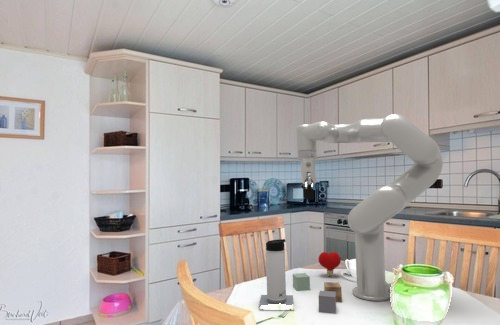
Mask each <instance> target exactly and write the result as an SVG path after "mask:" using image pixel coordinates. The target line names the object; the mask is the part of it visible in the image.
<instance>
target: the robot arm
mask: <svg viewBox="0 0 500 325" xmlns="http://www.w3.org/2000/svg"><path fill="white" fill-rule="evenodd" d="M317 141H319V142H323V143H327V144H349V143H350V144H353V143H354V144H355V143H357V144H360V143H392V145H394V146H395V147H396V148H397V149H398V150H400V152H402V153H403V154H404V156H405V155H406V156H407V157H408V158H409V159H410V160H411V161H413V164H412V166H411V167H410V168H408V169H407V170H406V171H405V172H403V173H402V174H401V175H400V176H399V177H398V178H396V179H395V180H393V181H392V182H391V183H389V184H386V185H382V186H380V187H378V188H377V189H376V190H374V191H373V192H372V193H370V194H369V195H368V196H367V197H365V198H364V199H363V200H362V201H361V202H359V203H358V204H357V205H356V206H354V207H353V208H352V209H351V210H350V211H349V213H348V215H347V223H348V226H349V228H350V229H351V231H353V232H354V233H355V236H354V237H355V238H354V239H355V240H354V242H355V243H354V245H355V267H356V268H355V270H356V273H355V274H356V286H355V287H353V288H352V294H353V296H354V297H356V298H359V299H362V300H367V301H372V302H373V301H374V302H376V301H377V302H378V301H379V302H380V301H387V300H389V299H391V297H390V293H391V292H390V287H391V284H392V282H391V283H388V282H387V281H386V267H385V266H386V265H385V262H386V261H385V240H384V238H385V237H384V236H385V223H387V222H388V221H389V220H391V219H392V218H394V217H395V216H396V215H397V214H398V213H401V211H403V210H404V209H405V208H406V207H407V206H408V205H409V204H410V203H411V202H413V201H414V200H415V199H417V198H418V197H419V196H420V195H422V194H423V193H424V192H426V191H427V190H428V189H429V188H431V187H432V185H434V184H435V183H436V182H437V180H438V179H439V177H440V176H441V173H442V170H443V156H442V153H441V149H440V147H439V145H438V143H437V142H436V141H435V140H434V139H433V138H431V136H429V135H428V134H426V133H425V132H424V131H423V130H421V129H420V128H419V127H417V126H416V125H415V124H414V123H413V122H411V121H410V120H409V119H408V118H407V117H406V116H404V115H402V114H399V113H391V114H388V115H387V116H385V117H379V118H375V117H374V118H362V119H359V120H357V121H356V122H353V123H347V124H346V123H345V124H332V123H330V122H328V121H325V120H323V121H316V122H314V123H309V124H308V123H307V124H306V123H305V124H304V123H303V124H300V125H298V126H297V128H296V146H297V149H296V150H297V151H296V152H297V153H296V154H297V160H298V161H300V172H301V173H300V174H301V176H300V177H301V182H302V185H303V189H302V191H303V192H302V194H303V195H302V196H303V199H305V200H307V201H308V200H310V201H312V200H314V199H315V198H314V197H315V194H314V191H315V190H314V185H315V184H317V176H316V175H317V174H316V163H315V162H316V161H315V160H317V158H318V157H317V156H318V152H317Z"/></svg>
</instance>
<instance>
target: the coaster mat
mask: <svg viewBox="0 0 500 325" xmlns="http://www.w3.org/2000/svg"><path fill="white" fill-rule="evenodd" d="M259 298H260V299H259V304H258V307H259V306H261V305H268V304H272V303H269V302H268V301H267V294H261V295H260V297H259ZM294 302H295V301H294V295H291V294H286V302H284V303H282V304H286V305H292V304H294ZM294 305H295V304H294Z"/></svg>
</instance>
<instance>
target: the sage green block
mask: <svg viewBox="0 0 500 325" xmlns="http://www.w3.org/2000/svg"><path fill="white" fill-rule="evenodd" d="M310 279H311V278H310V276H309V274H308V273H306V272H299V273H292V287H293V289H294V290H295V291H297V292H305V291H310V290H311V284H310V282H311V280H310Z"/></svg>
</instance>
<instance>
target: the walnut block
mask: <svg viewBox="0 0 500 325" xmlns="http://www.w3.org/2000/svg"><path fill="white" fill-rule="evenodd" d="M323 287H324V288H323V291H332V292H336V303H343V297H342V296H343V295H342V294H343V293H342V286H341V284H340V282H330V281H329V282H325V281H324V282H323Z"/></svg>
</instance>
